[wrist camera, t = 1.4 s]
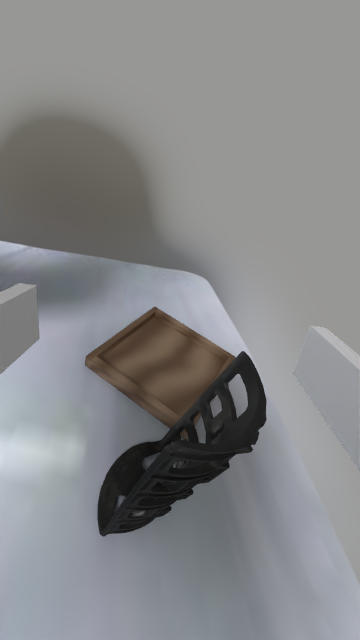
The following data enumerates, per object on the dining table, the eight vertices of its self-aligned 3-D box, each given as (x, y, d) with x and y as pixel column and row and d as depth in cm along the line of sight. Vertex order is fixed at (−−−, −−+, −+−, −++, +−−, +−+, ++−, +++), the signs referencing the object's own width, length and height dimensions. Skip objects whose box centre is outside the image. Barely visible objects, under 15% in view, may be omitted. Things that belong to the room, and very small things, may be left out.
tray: (84, 365, 40) (85, 356, 39) (152, 314, 53) (154, 306, 52) (186, 439, 36) (190, 432, 34) (231, 364, 49) (235, 357, 48)
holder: (133, 426, 35) (199, 321, 22) (184, 457, 34) (279, 369, 22) (79, 521, 26) (136, 437, 13) (145, 564, 26) (267, 518, 13)
